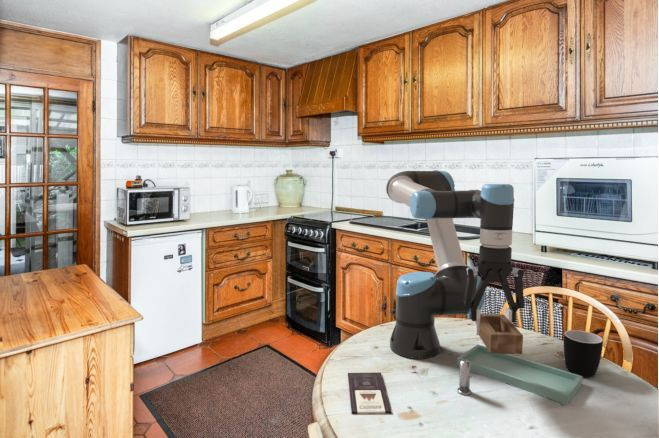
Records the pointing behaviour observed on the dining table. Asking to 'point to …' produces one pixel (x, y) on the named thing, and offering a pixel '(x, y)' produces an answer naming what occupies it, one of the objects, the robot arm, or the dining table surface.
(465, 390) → the silver cylindrical piece
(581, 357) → the mug
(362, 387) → the chocolate bar
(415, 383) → the dining table surface
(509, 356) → the tray
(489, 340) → the wooden rectangular frame
